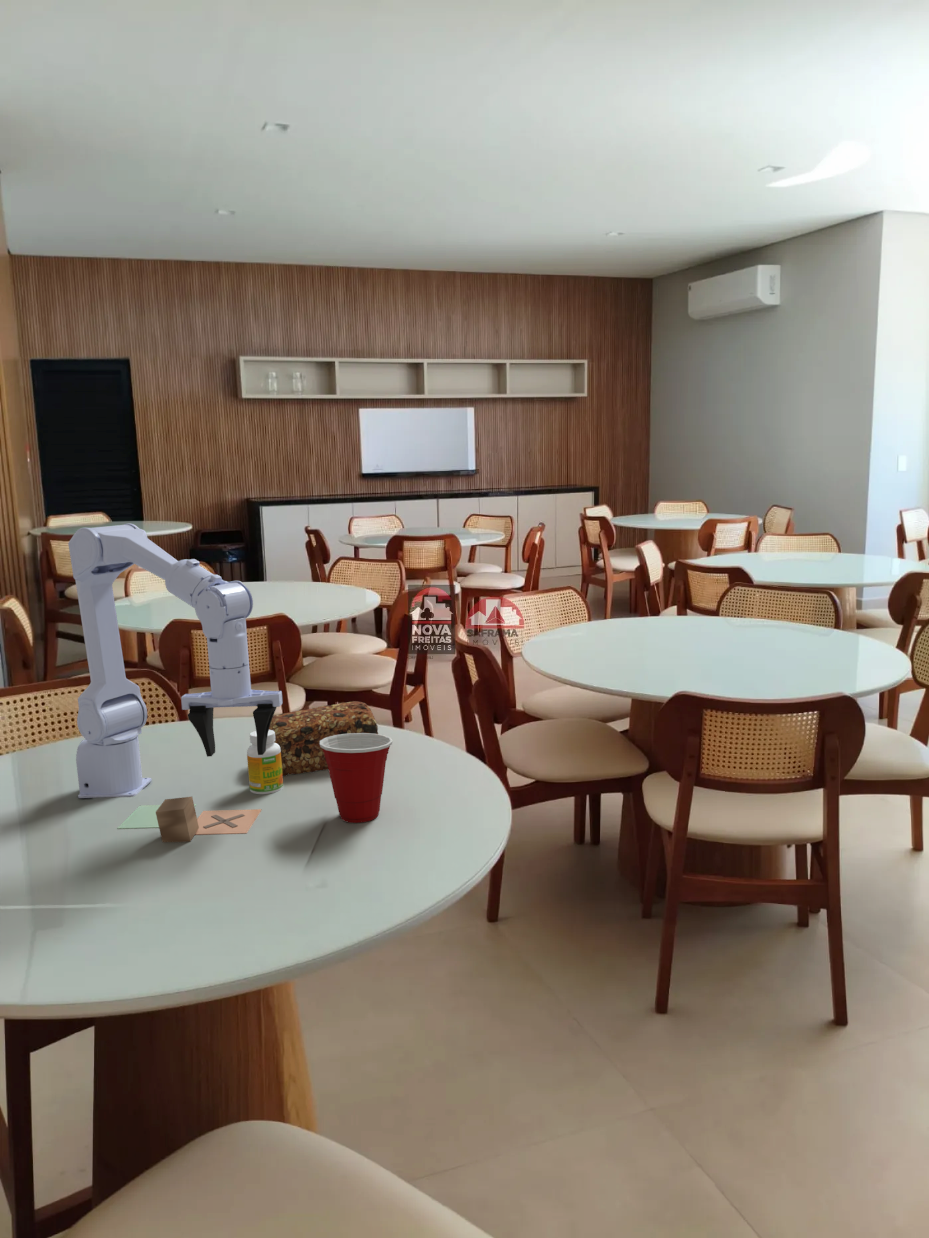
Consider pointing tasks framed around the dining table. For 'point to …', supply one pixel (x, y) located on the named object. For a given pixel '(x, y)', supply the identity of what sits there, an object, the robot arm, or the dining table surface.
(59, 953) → the dining table surface
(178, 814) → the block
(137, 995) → the dining table surface
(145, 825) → the tile
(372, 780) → the plastic cup
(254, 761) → the supplement bottle
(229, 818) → the tile
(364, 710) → the bread
